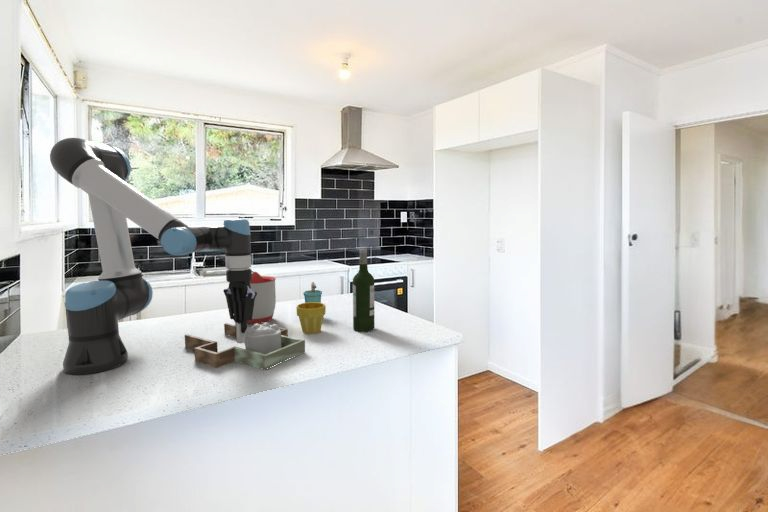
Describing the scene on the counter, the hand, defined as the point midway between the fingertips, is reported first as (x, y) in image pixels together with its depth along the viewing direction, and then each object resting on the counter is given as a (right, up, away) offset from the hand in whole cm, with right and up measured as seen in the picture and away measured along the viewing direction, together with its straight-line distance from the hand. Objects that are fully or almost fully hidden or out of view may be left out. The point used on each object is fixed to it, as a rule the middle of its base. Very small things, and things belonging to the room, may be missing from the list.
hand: (241, 341), depth 128 cm
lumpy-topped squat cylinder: (+7, -3, -2) cm, 8 cm away
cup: (+16, +2, +38) cm, 41 cm away
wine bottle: (+38, 0, +22) cm, 44 cm away
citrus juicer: (-7, +1, +33) cm, 34 cm away
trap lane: (+1, -3, 0) cm, 3 cm away
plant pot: (+19, -1, +19) cm, 27 cm away
